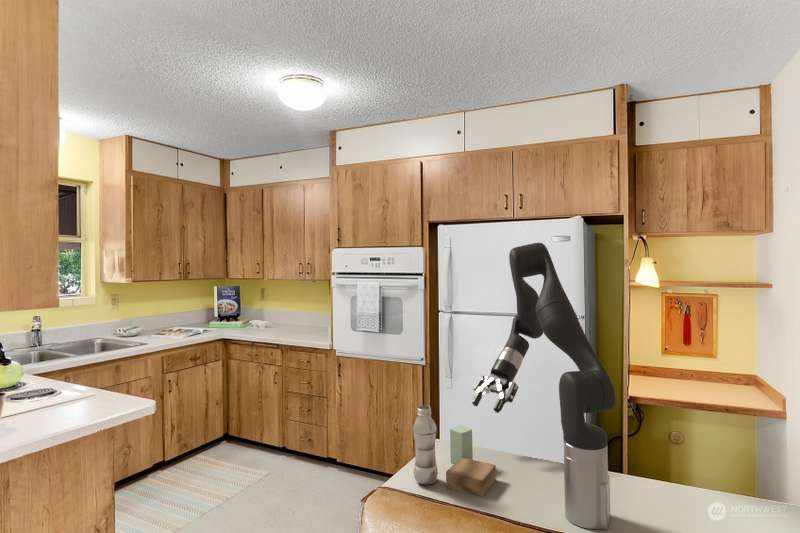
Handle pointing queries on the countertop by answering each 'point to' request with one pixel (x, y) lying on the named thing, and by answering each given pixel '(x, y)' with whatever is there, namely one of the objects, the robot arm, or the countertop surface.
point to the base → (471, 476)
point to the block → (461, 443)
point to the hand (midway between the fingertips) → (484, 408)
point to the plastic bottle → (425, 447)
